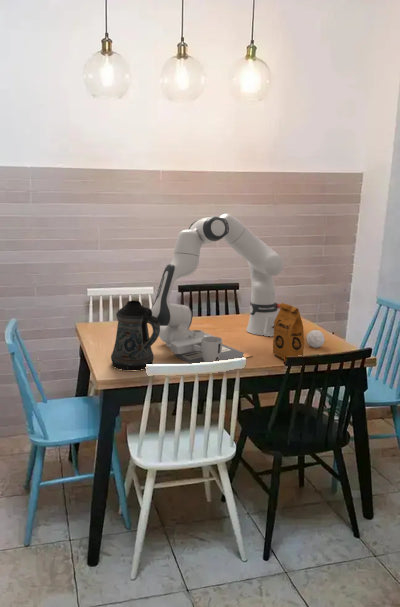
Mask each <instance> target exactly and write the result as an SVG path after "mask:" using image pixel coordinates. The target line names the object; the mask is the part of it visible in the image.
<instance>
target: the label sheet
mask: <svg viewBox="0 0 400 607" xmlns="http://www.w3.org/2000/svg"><path fill="white" fill-rule="evenodd" d="M244 353H245V352H243V351H241V350H238V349H235V348H233V347H231V346H228V345H226V344H223V343H222V350H221V355H220V359H219V360H228V359H234V358H242V357H244V356H243V354H244ZM172 356H174V357H175V358H178V359H180V360H182V361H184V362H186V363H188V364H190V363H200V362H204V359H203V353H202V352H201V351H192V352H188V353H183V354H176V353H174V354H172Z"/></svg>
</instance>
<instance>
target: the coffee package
mask: <svg viewBox="0 0 400 607" xmlns="http://www.w3.org/2000/svg"><path fill="white" fill-rule="evenodd" d="M279 304H280V307H281V309H279V310H278V311H279V313H278V315H277V317H276V319H275V321H274V336H273V340H272V354H273V355H275V356H277V357H279V358H280V357H281V358H280V359H282V360H284V357H285V356H298V355H303V356H304V346H305V332H304V325H303V321H302V317H301V314H300V310H299V308H298V307H296V306H294V305H291V304H287V303H285V302H281V303H279Z"/></svg>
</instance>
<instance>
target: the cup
mask: <svg viewBox="0 0 400 607" xmlns="http://www.w3.org/2000/svg"><path fill="white" fill-rule="evenodd" d="M214 336H215V335H212V336H208V337H203V338H202V339H201V340H202V353H203V359H204V362H213V361H219V359H220V355H221V350H222V344H223V339H222V337H219V336H215V337H214Z"/></svg>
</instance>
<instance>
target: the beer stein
mask: <svg viewBox="0 0 400 607" xmlns="http://www.w3.org/2000/svg"><path fill="white" fill-rule="evenodd" d="M151 309H152V308H150V307H145V306H144V305H142V303H141V301H139V300H129V301H127V303H126V304H125V305H124V306H122V307H121V308H120V309H119V310H117V312H116V314H115V317H116V319H117V328H116V336H115V341H114V347H113V351H112V352H111V356H110V360H111V364H112V367H113V366H114V367H116V368H118V369H122V370H121V371H123V370H140V371H142V370H141V369H144V370H146V369H145V367H146V364H152V365H153V363H154V359H155V358H154V357H155V354H154V353H153V350H152V349H153V348H152V345H154V343H155V342H156V341H157V339H158V338H159V333H160V324H159V322H158V320H157V319H156V317H154V316H152V311H151ZM148 324H149V325H151V327H152V333H151V336H150V333H149V325H148ZM114 367H113V368H114ZM116 368H115V369H116ZM118 369H117V370H118Z"/></svg>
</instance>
